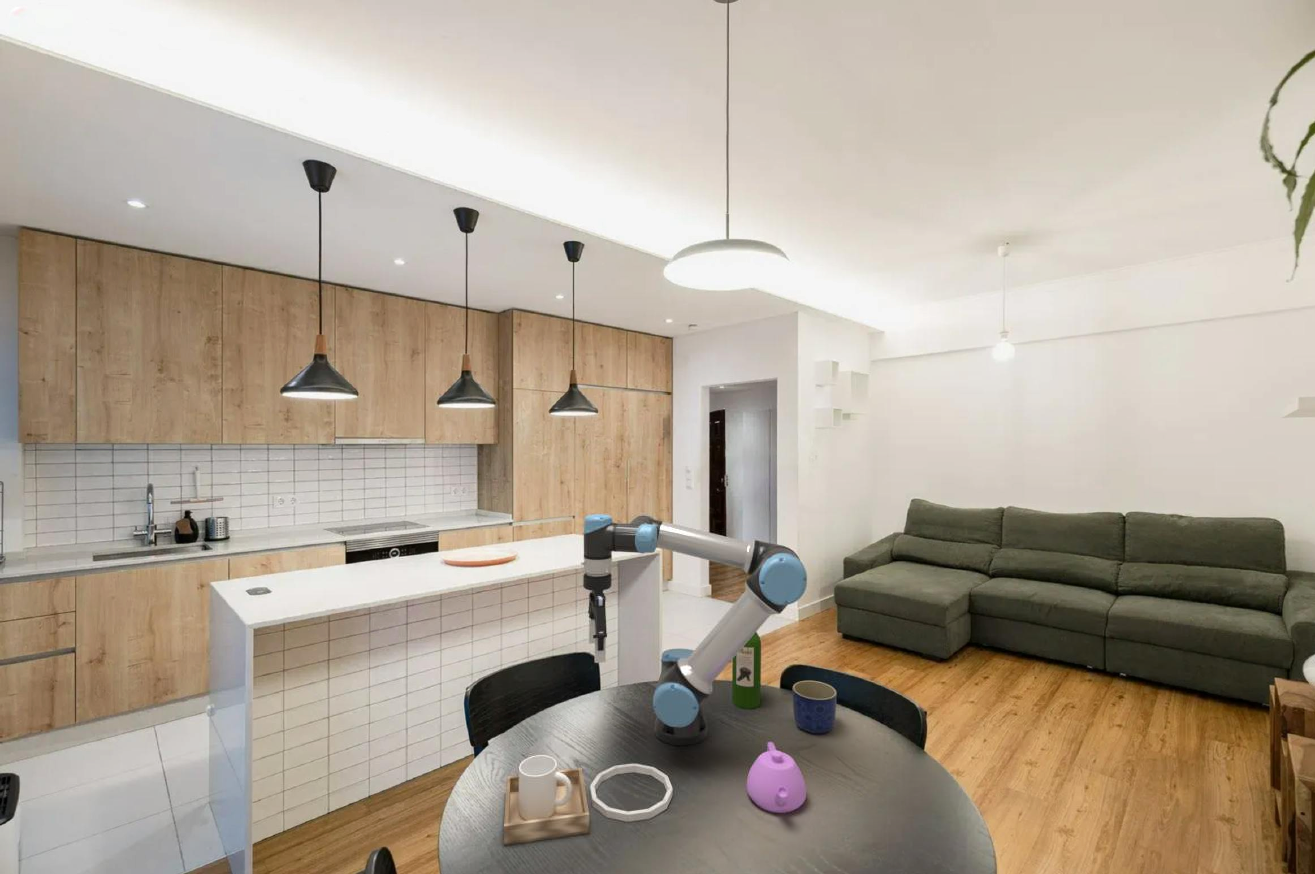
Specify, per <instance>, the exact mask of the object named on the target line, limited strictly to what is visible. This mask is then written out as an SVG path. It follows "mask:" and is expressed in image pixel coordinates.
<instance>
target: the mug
mask: <svg viewBox="0 0 1315 874" xmlns="http://www.w3.org/2000/svg"><path fill="white" fill-rule="evenodd" d="M557 764H558V763H557V761H556V759H555V758H554V757H552V756H550V755H546V754H545V755H544V754H541V755H540V754H537V755H533V756H530V757H527V758H525V759H524V760H522V762H520V764H519V766H518V767H519V768H518V775H519V813H520V815H521V817H522V818H524V819H525V820H527V821H528V820H535V819H543V818H549V817H550V816H551V815H552V814H553V813H554V811H555V809H556V806H563V805H565V804H566V803H567V802H568V801H569V800H570V798H571V795H572V785H571V782H570V780H569V779H568V777H567V776H566V775H564V774H562V773H560V772H557V771H558V766H557ZM557 780H559V781H562V782H563V783H564V784H565V787H566V795H565V797H564V798H562V799H556V790H557Z"/></svg>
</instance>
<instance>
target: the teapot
mask: <svg viewBox="0 0 1315 874" xmlns="http://www.w3.org/2000/svg"><path fill="white" fill-rule="evenodd" d="M766 749H767V750H766V751H764V752H762V753H761V754H760V755H759V756H758V757H757V758H756V760H755V761H754V762H753V764H752V766H751V767H750V769H749V771H748V775H747V779H746V790H747V794H748V795H749V797H750V799H751V800H752V801H753V803H755V805H757V806H758V807H759V808H761V809H762V810H764V811H767V812H771V813H775V814H787V812H788V813H791V811H792V812H794V811H795V809H796V810H797V809H799V808H800V807H801V806H802V805H803V804H804V802H805V800H806V797H807V787H806V783H805V782H806V781H805V779H804V776H803V773H802V772H801V770H800V768H799V766H798V764H797V763H796V761H795V760H794V758H793V757H792V756H790V755H789V754H787V753H785V752H783V751H780V750H777V747H776V746H775V743H774V742H773V741H768V742H767V745H766ZM793 810H794V811H793Z"/></svg>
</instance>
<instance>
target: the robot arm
mask: <svg viewBox="0 0 1315 874" xmlns="http://www.w3.org/2000/svg"><path fill="white" fill-rule="evenodd" d="M583 523H584V525H583V533H582V534H583V560H582V561H581V563H580V564H581V565H583V572H584V574H583V575H582V580H583V581H582V586H583V589H585V590H588V591H589V594H588V597H589V599H588V600H589V601H588V611H587V613H588V618H589V619H588V644H594V663H595V664H598V663H599V664H600V663H606V648H607V647H606V645H607V644H606V643H607V642H606V641H607V640H606V639H607V637H608V630H607V615H606V613H607V612H606V609H607V608H606V600H607V599H606V598H607V597H606V595H605V592H604V591H605V590H608V589H610V588H611V587H612V580H613V579H612V578H613V577H612V573H611V572H612V570H613V557H612V555H613V552H614V553H615V552H616V553H618V552H619V553H620V552H621V553H634V554H635V553H636V554H638V553H639V554H647V553H649V554H651V553H654V552H655V551H656V550H657V548H659V549H663V550H666V551H671V552H675V553H679V554H682V555H687V556H691V557H695V558H698V559H702V560H705V561H711V562H714V563H719V564H723V565H726V566H730V567H733V568H739V569H743V571H744V572H745V574H747V575H750V576H749V577H748V578H747V579H746V580H745V581H744V584H745V586H744V587H745V591H744V592H743V593H742V594H741V595H740V597H738V599H737V600H736V601H735V602H734V603H733V605H731V607H730V608H729V610H728V611H727V612H725V614H724V615H723V616H722V618H721V619H720V620H719V621H718V623H716V625H715V626H714V627H713V628H712V629H711V631H709V633H708V634H707V635H706V636H705V638H703V639H702V641H701V642H700V643H699V644H698V645H697V647H696V648H695V649H689V648H669V649H665V650H663V652H662V653H661V659H660V662H661V667H660V675H659V678H658V680H657V685H656V687H655V690H654V691H653V695H652V707H653V710H654V713H655V715H656V718H655V720H654V734H655V736H656V737H657V738H658V739H659V740H661V741H662V742H664V743H666V744H670V745H674V746H690V745H691V746H692V745H695V744H698V743H701V742H702V741H704V740H705V739H706V738H707V736H708V722H707V718H706V716H705V715H706V714H705V712H704V710H703V703H704V702H705V701H706V700H707V698H708V697H709V696H710V695H711V694H712V693H713V690H714V689H713V683H714V682H715V680H716V679H717V677H718V676H719V675H720V674H721V673H722V672H723V671H724V669H725V668H726V667H727V666H728V665H729V664H730V663H731V661H733V658H734V657H735V656H736V654H737V653H738V652H739V651H740V650H741V649H742V647H743V646H744V645H745V644H746V643H747V642H748V641H749V639H750V638H751V637H752V636H753V635H754V634H755V633H756V632H757V631H759V629H760V628H761V627H762V626H763V625H764V624H765V622H766V621H767V619H769V618H770V617H771V616H772V615H780V614H782V612H783V611H784V610H785V609H786V608H787V607H788V606H789V605H792V604H794V603H796V602H797V601H799V600H800V599H801V598H802V597H803V595H804V594H805V591H806V589H807V585H808V573H807V571H806V568H805V566H804V564H803V562H801V560H800V557H799V556H798V555H797V553H796V552H795V551H794V550H793V549H791V548H790V547H787V546H785V545H781V544H778V543H770V542H768V541H767V542H766V541H760V540H757V539H752V540H750V541H745V540H742V539H741V540H740V539H736V538H732V537H728V536H726V535H725V536H724V535H720V534H717V533H713V532H708V531H703V530H699V529H696V528H693V527H687V526H683V525H679V524H675V523H672V522H667V521H662V520H659V519H654V518H653V517H652V516H650V515H646V514H641V515H638V516H636V517H635V518H634V519H632V521H631V522H630V523H623V522H621V523H620V522H619V523H618V522H617V523H616V522H614V521H613V517H612V515H610V514H603V513H596V514H589V515H587V516H586V517H585V518H584V522H583Z"/></svg>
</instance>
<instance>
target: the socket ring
mask: <svg viewBox="0 0 1315 874" xmlns="http://www.w3.org/2000/svg"><path fill="white" fill-rule="evenodd" d="M627 773H636V774H643V775H647V776H652V777H653V778H655V779H656V780H658V781H659V782H660V783H662V784H663V785H664V788H665V790H666V793H665V795H664V797H663V799H662V800H661V801H659V802H657V803H656V804H654V805H652V806H651V807H649V808H644V809H638V810H637V809H636V810H631V811H627V810H622V809H618V808H614V807H609V806H608V805H606V804H605V803H604V802H603V801H602V800H600V799H599V798H598V797H597V794H596V793H597V792H596V791H597V790H598V788H599V787H600V785H601V784H602V782H604V781H605V780H608V779H611V778H612V777H614V776H615V775H620V774H621V775H622V774H627ZM673 789H674V788H673V786H672V784H671V781H670V778H669V777H668V775H667V774H665V773H664V772H662V771H660V770H659V769H657V768H656V767H654V766H649V765H644V764H640V763H626V764H618V765H613V766H611V767H610V768H607V769H605V770H603V771H601V772H599V773H597V775H596V777H595V778H594V779H593V781H592V782H591V784H590V785H589V794H590V800H591V805H592V807H593V808H594V809H595V810H597V812H599V813H600V814H602V815H603V816H604V817H605V818H608V819H613V820H618V821H621V822H627V823H630V822H637V821H644V820H650V819H652V818H653V817H655V816H657V815H658V814H660V813H662V812H664V811H665V810H667V809H668V806H669V804H670V802H671V800H672V798H673V795H674V794H673V793H674V791H673Z"/></svg>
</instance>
